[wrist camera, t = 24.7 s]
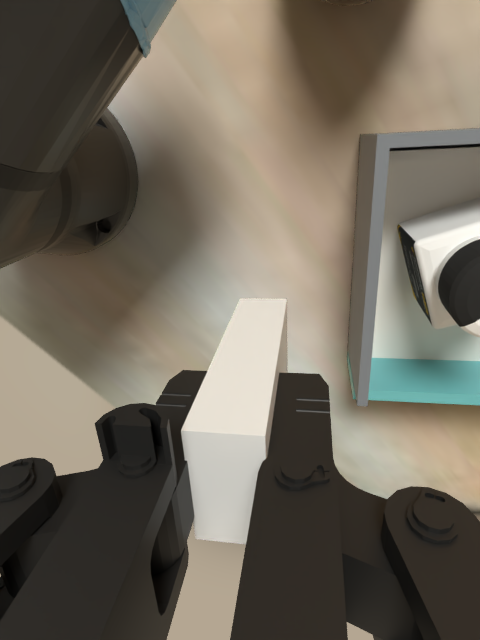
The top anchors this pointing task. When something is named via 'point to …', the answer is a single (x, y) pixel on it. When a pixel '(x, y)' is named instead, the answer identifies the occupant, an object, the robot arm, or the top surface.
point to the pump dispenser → (347, 2)
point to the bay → (379, 235)
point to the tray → (397, 296)
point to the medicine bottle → (445, 264)
